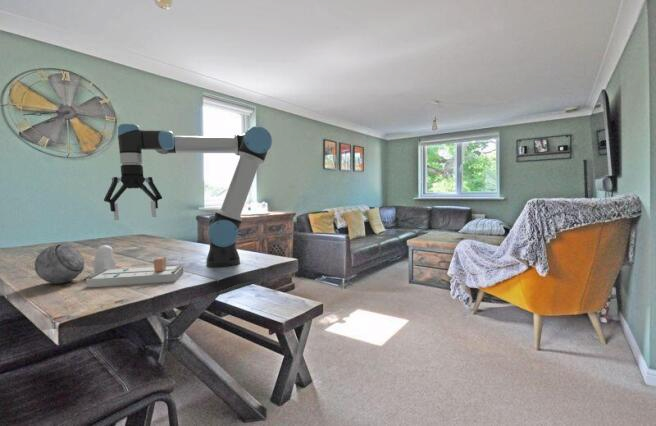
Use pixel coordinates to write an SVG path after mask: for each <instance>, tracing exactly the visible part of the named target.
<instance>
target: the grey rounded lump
mask: <svg viewBox="0 0 656 426" xmlns="http://www.w3.org/2000/svg"><path fill="white" fill-rule="evenodd" d="M84 268H85V259H84V257H83V255H82V253H81V252H80V251H79V250H78V249H76V248H75V247H74V246H71V245H69V244H66V243H56V244H54V245H50V246H47V247H46V248H44V249H42V251H41V252H39V254H38V255H37V256H36V259H35V261H34V270H35V273H36V275H37V276H38V278H40V279H41V280H43V281H45V282H48V283H50V284H65V283H68V282H70V281H73V280H74V279H75V278H77V277H79V275H81V273H82V272H83V271H84Z"/></svg>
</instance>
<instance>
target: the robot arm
mask: <svg viewBox="0 0 656 426" xmlns="http://www.w3.org/2000/svg"><path fill="white" fill-rule="evenodd" d="M117 140H118V151H119V162H120V164H121V165H120V174H121V176H120V177H117V176H113V177H112V178H111V184H110V186H109V188H108V190H107V192H106V194H105V197H104V199H103V201H104V202H106V203H108V204H109V207H110V208H109V209H110V212H113V220H114V221H119V219H120V218H119V207H118V206H119V205H118V202H117V200H119V198H120V197H121V196H122V194H123V193H124V192H125V191H126V190H127V189H140V190H142V191H143V192H144V194H145V195H147V196H148V197H149V198H150V199H151V201H150V209H151V217H152V218H157V210H156V209H158V208H159V203H158V201H159V200H162V199H163V197H162V194H161V192H159V190H158V188H157V186H156V184H154V180H153V176H148V177H144V167H143V165H142V164H143V154H142V153H143V152H142V150H143V151H144V150H145V151H146V150H148V151H149V150H151V151H156V152H157V153H158V154H161V155H167V154H235V155H236V156H239V158H238V162H237V163H236V164H237V165H236V168H235V170H234V173H233V176H232V178H231V181H230V184H229V186H228V189H227V192H226V194H225V197H224V199H223V202H222V205H221V208H220V209H218V210H216V211H215V214H213V215H210V216H209V217H208V232H207V233H208V239H209V250H208V253H207V257H206V261H205V262H206V266H208V267H213V268H222V267H223V268H224V267H230V266H231V267H232V266H237V265H238V264H240V263H241V258H240V254H239V253H238V250H237V246H236V241H237V240H238V238H239V230H240V228H241V225H242V222H243V219H242V217H241V215H242V212H243V211H244V210H243V209H244V206H245V204H246V201H247V198H248V195H249V193H250V190H251V188H252V185H253V182H254V179H255V178H256V174H257V171H258V168H259V165H261V164H263V163H264V162H265V160H266V158H267V154H268V151H269V150H270V149H271V147H272V144H273V139H272V135H271V133H270V132H269V130H268V129H267V128H264V126H259V125H256V126H251V127H249V128H248V129H246V131H245V132H244V133H243V134H237V133H236V134H234V135H233V136H219V135H218V136H217V135H216V136H212V135H211V136H209V135H208V136H207V135H204V136H203V135H201V136H199V135H174V133H173V132H172V131H171V130H162V129H161V130H146V129H145V130H143V129H140V126H139V125H138V124H133V123H121V124H119V125H118V126H117ZM120 182H121V183H122V185H121V187H120V188H119V189H118V190H117V192H116V193H115V194H114V192H115V190H116V187H117V186H118V184H119V183H120ZM145 182H146V183H147V184H148V186H149V188H150V189H151V191H150V190H149V188H148V187H147V186H146V184H144V183H145ZM113 194H114V195H113Z"/></svg>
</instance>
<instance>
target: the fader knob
mask: <svg viewBox="0 0 656 426" xmlns="http://www.w3.org/2000/svg"><path fill="white" fill-rule="evenodd" d="M153 266H154V271H155V272H157V271H164V270H165V269H166V267H167V258H166V256H158V257H155V258H154V259H153Z"/></svg>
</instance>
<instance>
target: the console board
mask: <svg viewBox="0 0 656 426" xmlns="http://www.w3.org/2000/svg"><path fill="white" fill-rule="evenodd" d="M183 274H184V265H182V264H177V265H173V266H166V269H165V270H164V271H157V272H155V271H154V267H140V268H139V267H138V268H137V267H136V268H120V269H118V268H117V269H113V270H107V269H103V270H101V271H99V272H97V273H93V274H91V275H90V276H88V277H87V278H86V280H85V281H86V288H97V287H99V288H101V287H113V286H126V285H140V284H141V285H143V284H157V283H173V282H177V281H178V280H179V278H180V277H181V276H182V275H183Z"/></svg>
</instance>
